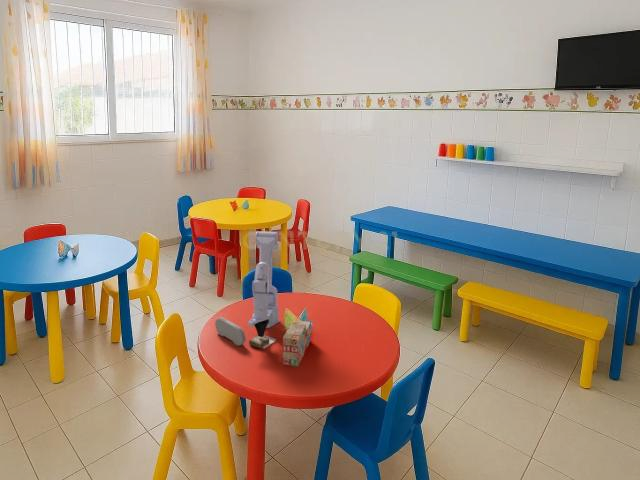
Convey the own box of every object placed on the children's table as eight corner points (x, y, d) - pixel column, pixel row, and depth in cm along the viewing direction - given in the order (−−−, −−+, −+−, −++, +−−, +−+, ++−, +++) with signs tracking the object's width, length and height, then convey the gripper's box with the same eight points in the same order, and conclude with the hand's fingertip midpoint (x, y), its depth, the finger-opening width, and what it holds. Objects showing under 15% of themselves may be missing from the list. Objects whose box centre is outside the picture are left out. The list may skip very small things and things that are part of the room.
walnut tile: (249, 344, 196) (258, 338, 201) (260, 348, 193) (269, 342, 198) (249, 340, 196) (258, 334, 200) (260, 344, 192) (269, 338, 197)
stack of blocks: (296, 339, 203) (297, 313, 199) (310, 341, 202) (311, 315, 198) (282, 364, 183) (282, 336, 179) (297, 367, 181) (298, 339, 178)
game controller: (246, 346, 195) (246, 329, 193) (242, 348, 194) (241, 330, 191) (219, 330, 208) (219, 314, 206) (215, 332, 206) (214, 315, 204)
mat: (261, 335, 205) (261, 334, 204) (276, 341, 200) (276, 339, 200) (249, 343, 198) (249, 341, 198) (264, 348, 194) (264, 347, 194)
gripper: (263, 298, 201) (263, 326, 205) (242, 310, 189) (242, 340, 193) (276, 302, 198) (276, 331, 202) (255, 314, 186) (255, 344, 190)
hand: (260, 335), depth 197 cm, fingers closed
